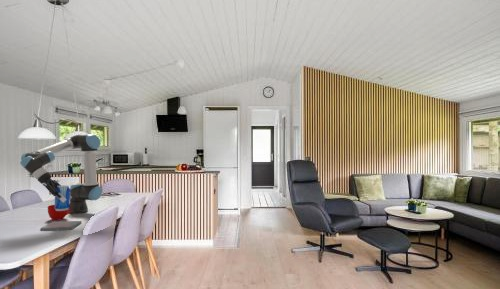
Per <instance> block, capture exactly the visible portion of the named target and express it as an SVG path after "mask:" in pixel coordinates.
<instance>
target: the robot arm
mask: <svg viewBox="0 0 500 289" xmlns="http://www.w3.org/2000/svg"><path fill="white" fill-rule="evenodd" d="M100 146H101V140H100V137H98V135H97V134H83V133H82V134H76V135H72V136H69V137H67V138H64V140H63V141H60V142H57V143H55V144H52V145H51V144H50V145H47V146H46V147H43V148H40V149H38V150H34V151H32V152H25V153H23V154H22V155H21V158H20V159H21V160H20V166H22V167H23V169H25V170H26V171H27V172H28V173H29V174H30V175H31V176H32V177H33V178H35V179H36V180H37V181H38V182H39V184H42V186H43V187H45V188H46V189H47V191H48V192H49V193H50V194H51V195H52V196H53V197H55V195H56V196H57V197H58V198H59V199H60V200H61V201H62V202H64V201H66V200H67V199H66V198H65V197H64V196H63V195H62V194H60V193H58V191H57V190H56V188H57V186H62V185H61V184H60V183H59V182H58V181H57V180H56V179H54V180H53V179H51V178H52V175H51V174H50V173H49V172H48V171H47V170H46V169H45V168H44V166H47V165H48V164H50V163H51V162H53V161H55V159H56V156H55V155H58V154H60V153H63V152H66V151H68V150H69V151H72V150H75V149H80V151H81V152H82V153H83V165H84V166H83V168H84V169H83V172H84V182H83V183H77V184H72V185H70V186H69V188H70V202H69V208H70V209H71V211H70V213H69V214H82V213H87V212H89V208H88V205H87V201H98V200H99V199H100V198H101V197H102V194H103V188H102V186H100V183H99V182H98V180H97V179H98V178H97V177H98V176H97V158H96V156H97V155H96V153H97V152H98V149H99V148H100ZM68 212H69V209H68ZM68 212H67V213H68Z"/></svg>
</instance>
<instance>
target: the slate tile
mask: <svg viewBox="0 0 500 289" xmlns="http://www.w3.org/2000/svg"><path fill="white" fill-rule="evenodd" d="M82 222H83V221H82V220H66V221H63V220H62V221H61V220H53V221H51V222H50V223H48V224H46V225H44V226H42V227H40V231H71V230H73V229H74V228H76V227H78V226H80V225H81V224H82Z"/></svg>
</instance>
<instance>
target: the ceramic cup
mask: <svg viewBox="0 0 500 289" xmlns="http://www.w3.org/2000/svg"><path fill="white" fill-rule="evenodd" d="M54 207H55V204H51V205H48V206H47V213H48V216H49V218H51V220H52V221H61V220H62V221H63V219H65V217H67V216H68V215H69V214H71V213H70V211H71V209H70V208H68V209H69V212H68V210H65V211H56V210H55V209H54ZM67 212H68V213H67Z"/></svg>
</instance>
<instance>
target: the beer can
mask: <svg viewBox="0 0 500 289" xmlns="http://www.w3.org/2000/svg"><path fill="white" fill-rule="evenodd" d="M56 190H57V191H58V193H60V194H62V195H63V196H64V197H65V198H66V199H67V200H66V201H64V202H62V201H61V200H60V199H59V198H58V197H57V196H56V195H55V196H54V205H55V207H54V209H55V210H56V211H65V210H68V208H69V203H70V186H69V185H61V186H57V188H56Z"/></svg>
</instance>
